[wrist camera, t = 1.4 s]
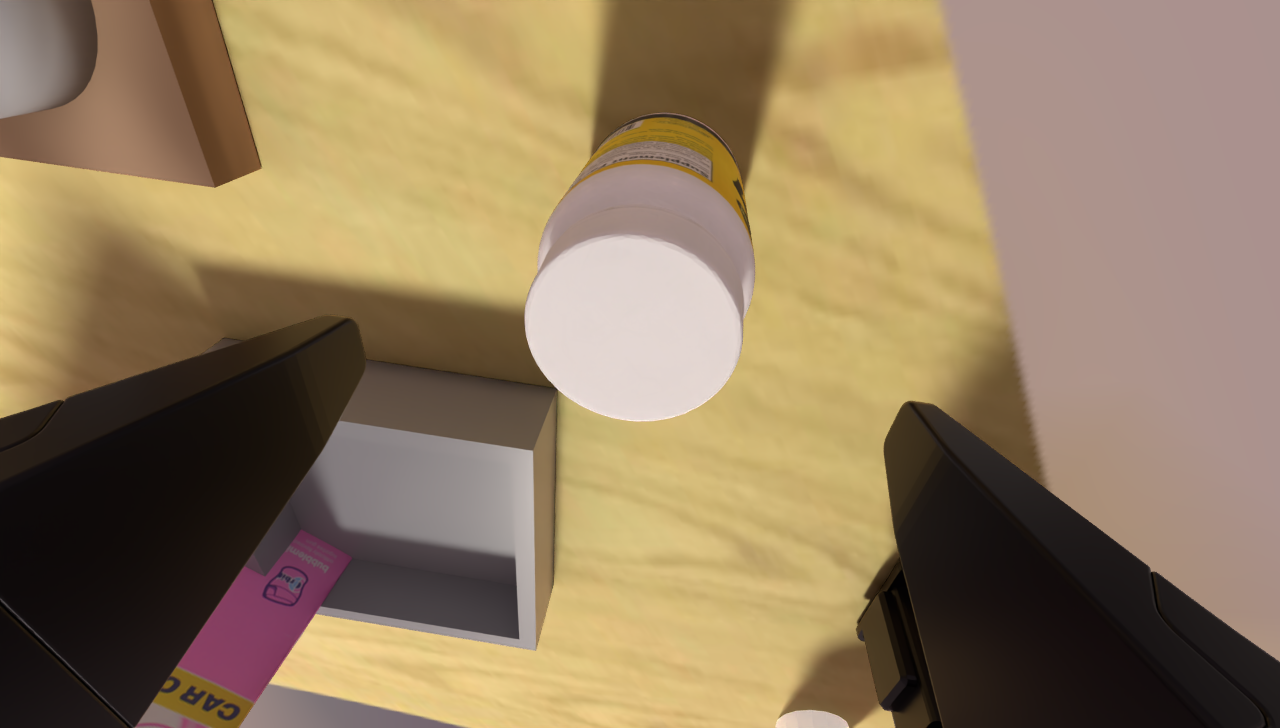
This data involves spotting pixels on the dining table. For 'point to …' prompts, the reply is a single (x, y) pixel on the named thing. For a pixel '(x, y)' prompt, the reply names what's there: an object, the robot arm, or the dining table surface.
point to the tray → (434, 504)
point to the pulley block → (122, 89)
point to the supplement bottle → (645, 273)
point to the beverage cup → (811, 720)
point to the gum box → (247, 639)
